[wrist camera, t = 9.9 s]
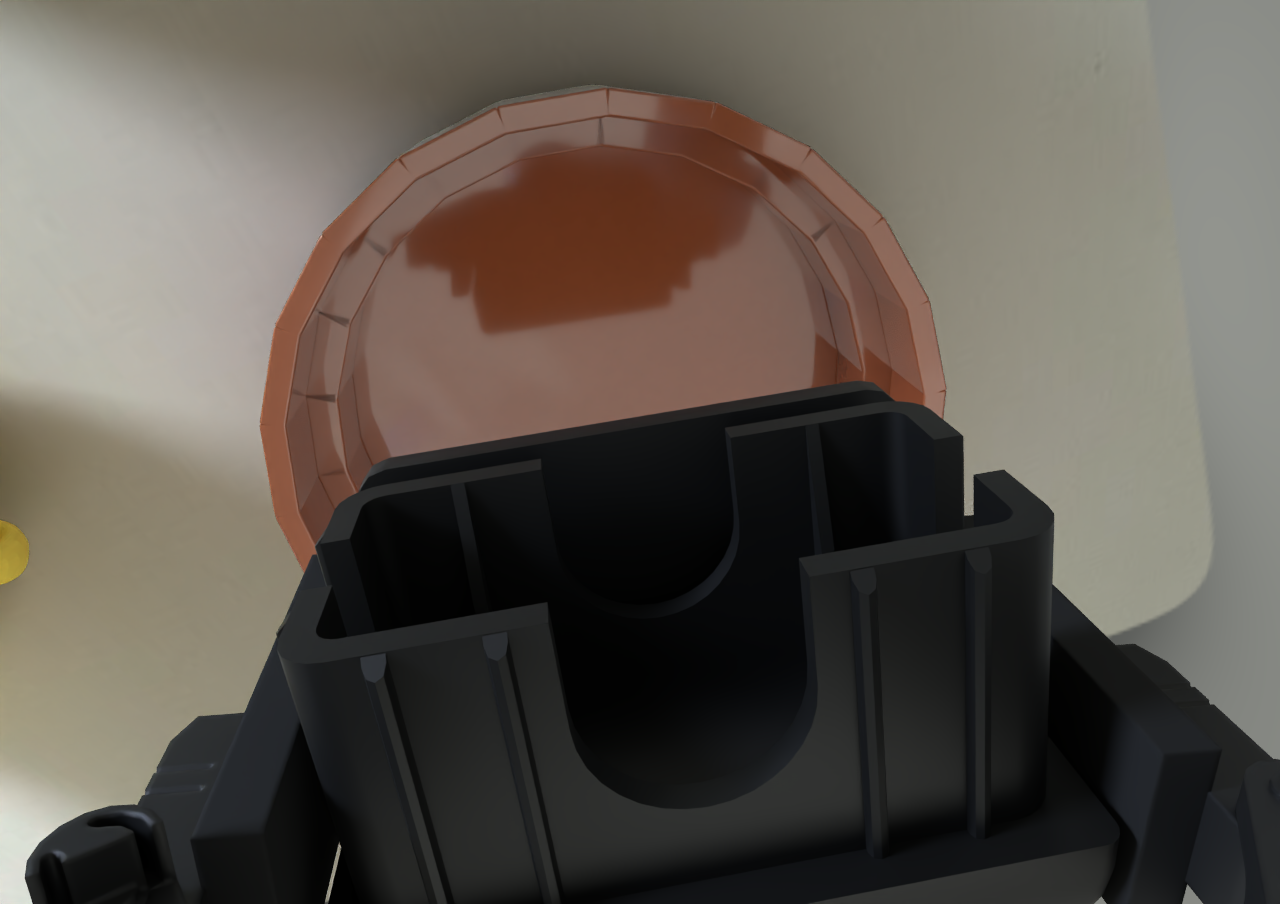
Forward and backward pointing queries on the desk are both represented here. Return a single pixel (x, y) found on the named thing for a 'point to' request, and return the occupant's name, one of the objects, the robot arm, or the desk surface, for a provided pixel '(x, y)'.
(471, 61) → the desk surface
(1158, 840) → the robot arm
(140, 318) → the desk surface
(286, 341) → the ceramic bowl
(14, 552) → the teapot
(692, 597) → the end cap
